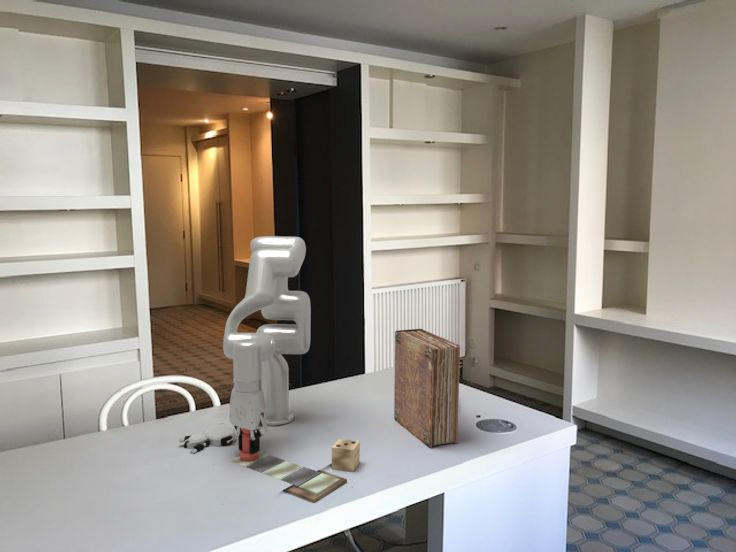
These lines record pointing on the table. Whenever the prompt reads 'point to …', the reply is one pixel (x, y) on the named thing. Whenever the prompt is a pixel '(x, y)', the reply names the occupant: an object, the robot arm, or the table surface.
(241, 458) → the pawn
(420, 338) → the book
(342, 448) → the die
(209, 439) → the robot toy
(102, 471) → the table surface
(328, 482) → the board
